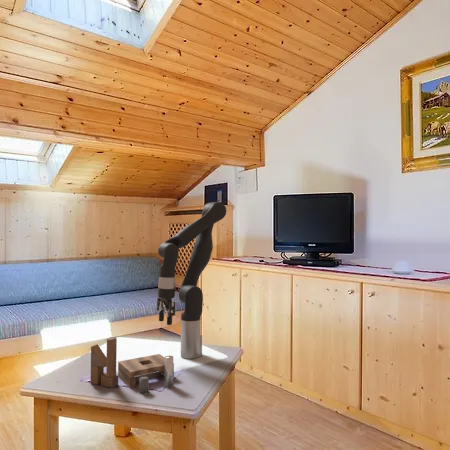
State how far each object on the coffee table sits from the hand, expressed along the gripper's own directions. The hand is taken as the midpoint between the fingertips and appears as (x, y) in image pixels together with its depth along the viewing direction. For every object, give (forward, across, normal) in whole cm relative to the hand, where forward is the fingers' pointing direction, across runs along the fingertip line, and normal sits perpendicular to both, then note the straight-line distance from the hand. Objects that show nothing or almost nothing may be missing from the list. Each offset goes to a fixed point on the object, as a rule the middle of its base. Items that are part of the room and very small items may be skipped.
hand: (165, 323), depth 175 cm
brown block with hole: (+18, -14, +14) cm, 26 cm away
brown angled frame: (+18, -12, +30) cm, 37 cm away
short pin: (+18, -27, +20) cm, 38 cm away
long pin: (+18, -27, +10) cm, 34 cm away
